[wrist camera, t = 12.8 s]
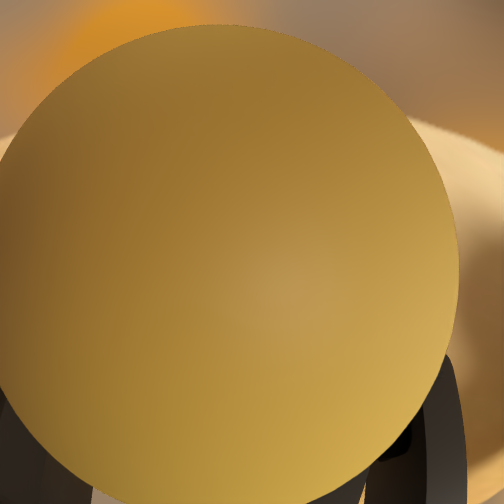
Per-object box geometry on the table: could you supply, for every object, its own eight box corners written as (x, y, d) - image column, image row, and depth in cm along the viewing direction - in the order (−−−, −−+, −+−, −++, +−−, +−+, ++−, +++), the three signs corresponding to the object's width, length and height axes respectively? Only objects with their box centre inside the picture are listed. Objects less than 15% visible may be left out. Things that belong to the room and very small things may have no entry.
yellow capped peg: (294, 301, 17) (498, 390, 1) (235, 325, 17) (74, 514, 1) (269, 242, 18) (295, -7, 2) (211, 267, 18) (-28, 162, 2)
